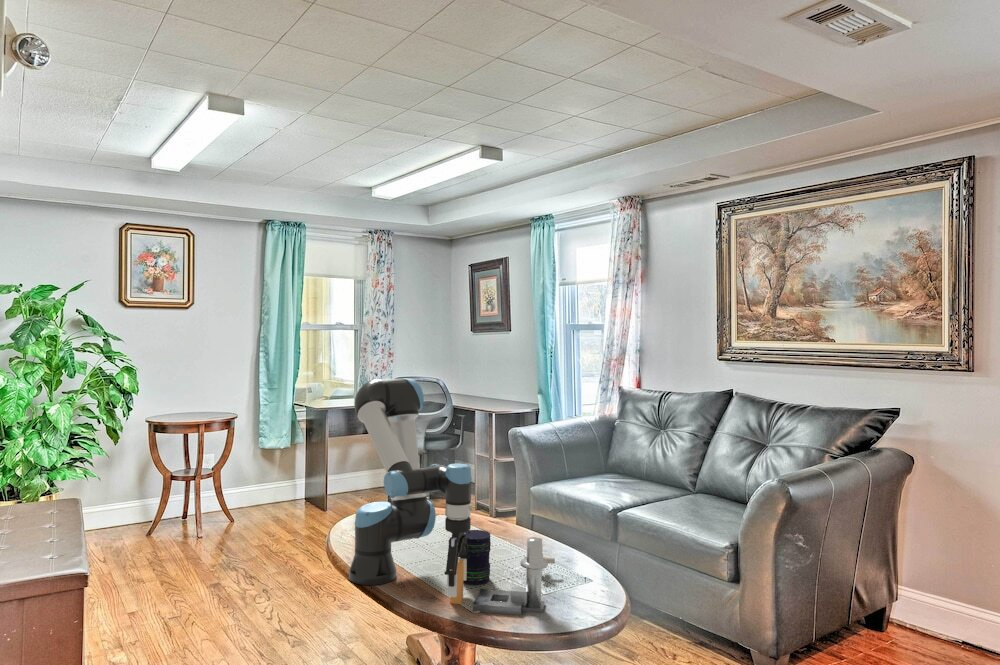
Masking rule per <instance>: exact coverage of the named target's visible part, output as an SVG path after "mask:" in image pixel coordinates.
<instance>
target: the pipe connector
mask: <svg viewBox="0 0 1000 665" xmlns="http://www.w3.org/2000/svg"><path fill="white" fill-rule="evenodd" d="M543 547H544V546H543V544H542V549H544V548H543ZM543 553H544V552H542V559H545V560H546V561H548V564H551V565H552V564H553V565H555V563H556V562H555V561H556V560H555V559H556V557H544V554H543ZM525 558H527V556H524V557H523V559H525Z"/></svg>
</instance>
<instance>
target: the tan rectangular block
mask: <svg viewBox="0 0 1000 665" xmlns="http://www.w3.org/2000/svg"><path fill="white" fill-rule="evenodd" d="M451 571H453V570H451ZM463 573H464V560H458V565H457V571H456V574H457V597H449V601H450V602H449V604H458V605H461V604H462V603H463V601H464V584H463Z"/></svg>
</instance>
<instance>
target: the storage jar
mask: <svg viewBox="0 0 1000 665" xmlns="http://www.w3.org/2000/svg"><path fill="white" fill-rule="evenodd" d="M466 534H467V544H468V554H469V558H465V559H467V576H466V581H464V580H463V585H465V586H470V587H478V586H479V587H480V586H484V585H487V584H488V583H490V579H491V578H490V575H491V562H490V553H491V549H492V548H491V533H490V531H487V530H483V529H470V530H469V531H468V532H466Z"/></svg>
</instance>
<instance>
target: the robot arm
mask: <svg viewBox="0 0 1000 665" xmlns="http://www.w3.org/2000/svg"><path fill="white" fill-rule="evenodd" d="M423 391H424V390H423V389H422V387H421V385H420V383H419V382H418V381H417V380H416V379H414V378H404V377H402V378H400V377H399V378H375V379H371V380H368V381H367V382H365V383H364V384H363V385H362V386H360V388H359V389H358V391H357V393H356V395H355V398H354V405H353V406H354V411H355V415H356V417H357V418H358V421H359V422H361V423H362V424H363V425H364V427H365V429H366V431H367V433H368V435H369V438H370V439H371V442H372V444H373V446H374V449H375V451H376V453H377V456H378V457H379V459H380V461H381V463H382V466H383V468H384V471H385V472H386V473H385V474H384V477H383V487H384V492H385V493H386V495H387V496H389V497H390V498H391V497H392V503H391V502H390V501H383V500H382V501H374V502H368V503H366V504H363V505H361V506H360V507H359V508H358V509H357V510H356V512H355V517H354V518H355V521H354V555H353V559H352V560H351V564H350V567H349V570H348V580H349V581H350V582H352V583H354V584H357V585H362V586H363V585H364V586H377V585H378V586H379V585H383V584H387V583H390V582H392V581H393V580H395V579H396V578H397V567H396V564H395V561H394V558H393V557H394V556H393V554H392V543H395V542H401V541H403V542H404V541H407V540H408V541H409V540H414V539H415V540H416V539H420V538H424V537H427V536H429V535H430V534H431V533H432V532H433V530H434V528H435V523H436V518H437V517H436V513H437V512H436V509H435V506H434V505H435V504H434V503H433V502H432V501H430V500H428V496H427V493H434V492H441V493H445V518H444V520H445V521H444V522H445V525H444V526H445V527H444V528H445V531H446V532H449V533H451V537H449V539H448V549H447V558H446V566H445V571H444V575H446V576H447V578H446V579H447V580H446V581H447V582H446V583H447V585H446V586H447V588H446V589H447V590H446V597H447V598H450V597H457V574H456V571H457V565H458V560H464V573H463V580H464V581H466V576H467V559H465V558H469V554H468V544H467V534H466V532H468V531H469V530H471V525H472V523H471V522H472V521H471V519H472V518H471V515H472V514H471V513H472V512H471V511H472V510H474V509H473V506H472V505H471V504H472V502H471V501H472V480H473V478H472V468H471V466H470V465H469V464H466V463H459V462H458V463H456V462H455V463H450V464H448V465H447V466H446V465H444V464H441V463H440V464H439V463H433V464H430V465H429V466H427V467H420V460H419V451H418V438H417V431H416V429H417V428H416V420H417V419H418V417H419V414H420V413H419V412H420V411H421V410H422V409H423V407H424V402H425V397H424V392H423ZM451 570H453V571H451Z"/></svg>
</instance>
